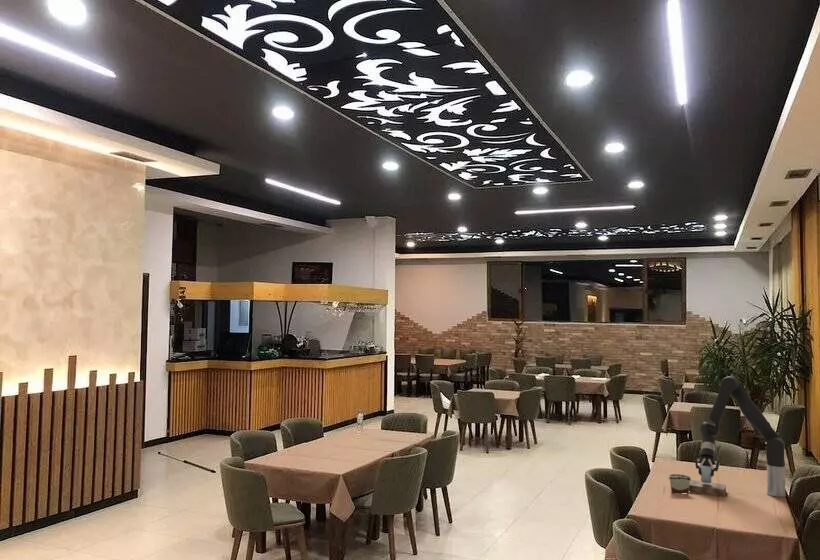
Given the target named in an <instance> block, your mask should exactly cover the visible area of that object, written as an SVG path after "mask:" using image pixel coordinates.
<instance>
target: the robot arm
mask: <svg viewBox="0 0 820 560" xmlns="http://www.w3.org/2000/svg"><path fill="white" fill-rule="evenodd" d="M731 396H732V397H733V398H734V399H735V401H736V403H737V405H738V406H739V409H740V411H741V414H742V415H743V416H744V418H745V419H746V420H747V422H748V423H749V424H750V425H751V426H752V427H753V428H754V429H756V430H757V431H758V432H759V434H760V435H761V436H762V438H763V439H764V440H765V442H766V445H765V451H766V452H765V455H766V469H767V470H766V484H767V485H766V493H767V495H769V496H771V497H778V498H786V461H785V449H786V443H785V441H784V439H783V438H782V437H781V436H780V435H779V434H778V433H777V432H776V431H775V430H774V429H773V427H772V426H771V425H770V422H769V421H768V420H767V418H766V417H765V416H764V413H763V412H762V411H761V410H760V408H759V407H758V406H757V405H756V404H755V402H754V401H753V400H752V398H751V397H750V396H749V395H748V393H747V392H746V391H745V390H744V387H743V386H742V384H741V383H740V381H739V379H738V378H736V377H735V376H732V375H729V376H728V375H727V376H726V377H725V376H724V377H723V378H722V379H721V381H720V385H719V389H718V393H717V396H716V399H715V400H714V403H713V405H712V407H711V410H710V412H709V414H708V419H709V420H710V421H711V422H712V423H711V422H707V421H703V422H702V423H701V424H700V434H701V438H702V441H701V447H700V457H699V458H697V457H694V464H695V469H698V471H697V472H698V475H699V476H701V466H702V465H707V466H711V467H712V468H711V478H713V477H714V476H715V472H719V471H718V470H719V468H720V462H721V461H719V460H715V453H716V449H715V448H716V439H715V438H716V436H718V435H719V433H720V426H721V421H722V418H723V415H724V413H725V411H726V407H727V403H728V400H729V399H730V397H731ZM713 423H714V424H713ZM699 462H700V464H698V463H699ZM714 464H715V466H714Z"/></svg>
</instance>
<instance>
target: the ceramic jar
mask: <svg viewBox="0 0 820 560" xmlns="http://www.w3.org/2000/svg"><path fill="white" fill-rule="evenodd" d="M711 468H712V467H711V466H707V465H702V466H701V475H700V481H701V482H704V483H712V477H711Z"/></svg>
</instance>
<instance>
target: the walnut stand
mask: <svg viewBox="0 0 820 560" xmlns="http://www.w3.org/2000/svg"><path fill="white" fill-rule="evenodd" d="M689 491H690V492H689V493H693V492H696V493H695V494H700V493H701V495H708V496H713V497H714V496H715V497H720V496H721V497H722V498H725V497H726V492H727V485H726V484H725V483H717V482H711V483H704V482H701V480H694V479H691V481H690V484H689ZM724 496H725V497H724Z"/></svg>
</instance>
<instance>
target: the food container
mask: <svg viewBox="0 0 820 560" xmlns="http://www.w3.org/2000/svg"><path fill="white" fill-rule="evenodd" d="M668 480H669V481H670V482H669V483H670V490H671V491H670V492H671V494H672V493H687V494H686V495H689V493H690V492H689V484H690V481H691V480H692V479H691V476H689V475H686V474H681V473H680V474H679V473H678V474H675V473H673V474H670V475H669V476H668Z"/></svg>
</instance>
